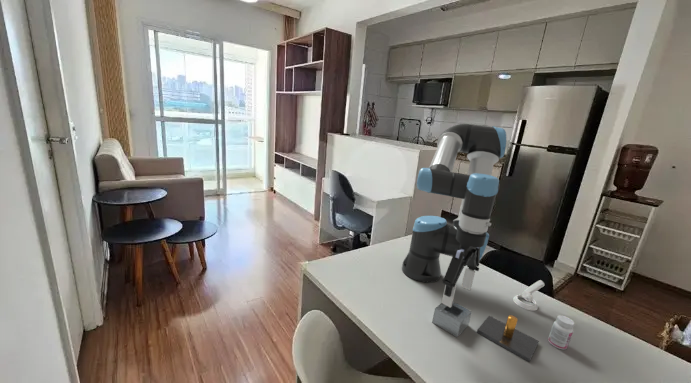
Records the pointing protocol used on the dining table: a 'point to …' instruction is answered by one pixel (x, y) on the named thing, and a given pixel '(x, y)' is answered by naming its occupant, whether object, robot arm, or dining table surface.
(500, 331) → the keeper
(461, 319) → the grey square socket block
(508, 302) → the dining table surface
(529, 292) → the vr controller
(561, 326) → the pill bottle
